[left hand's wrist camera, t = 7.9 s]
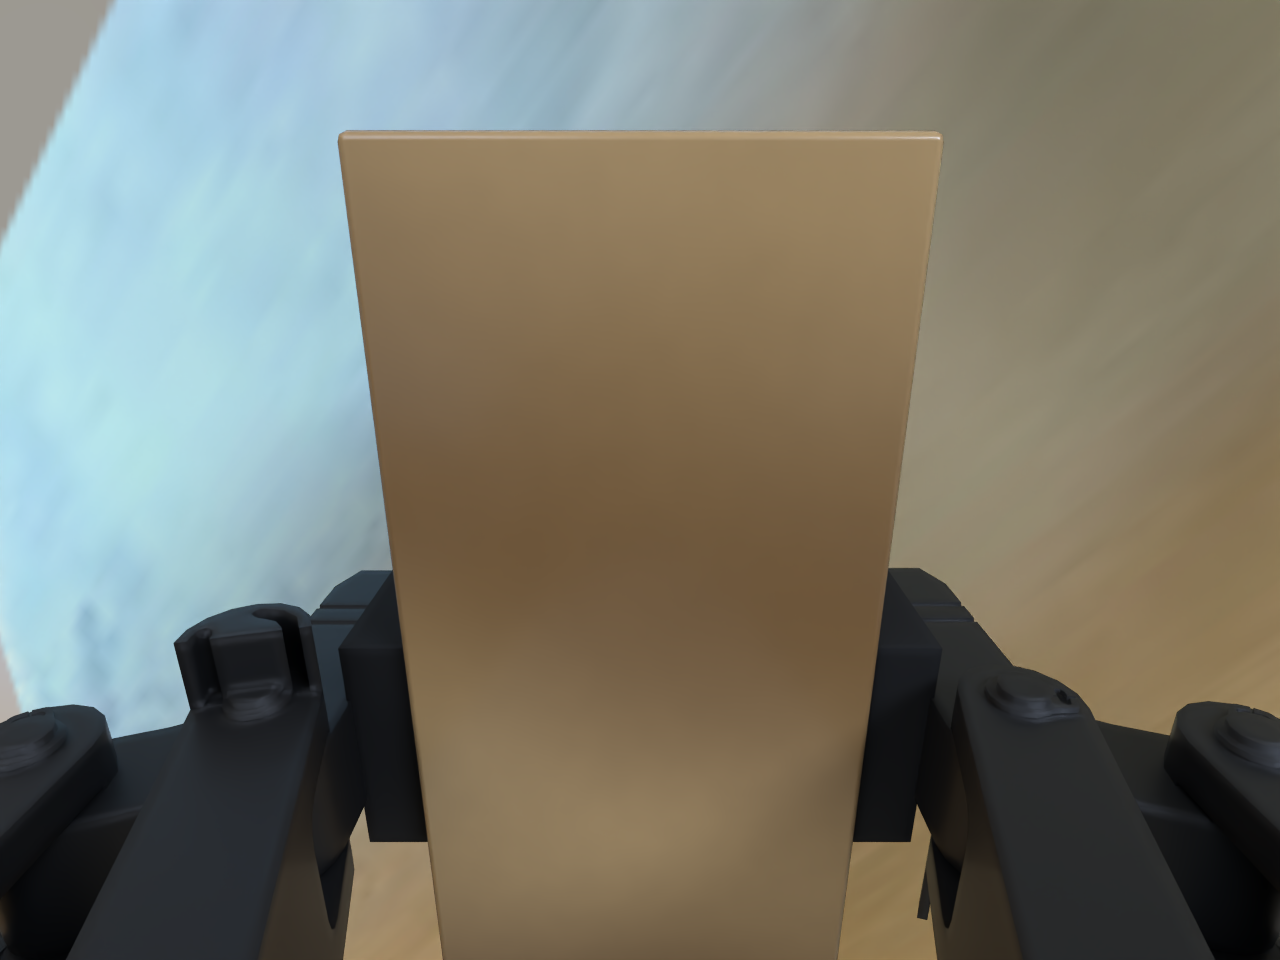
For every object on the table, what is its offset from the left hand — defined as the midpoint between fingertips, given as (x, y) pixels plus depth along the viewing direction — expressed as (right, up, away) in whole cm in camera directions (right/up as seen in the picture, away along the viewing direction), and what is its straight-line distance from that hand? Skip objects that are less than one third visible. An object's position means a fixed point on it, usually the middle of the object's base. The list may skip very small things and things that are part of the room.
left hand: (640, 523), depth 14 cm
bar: (0, -27, +10) cm, 29 cm away
